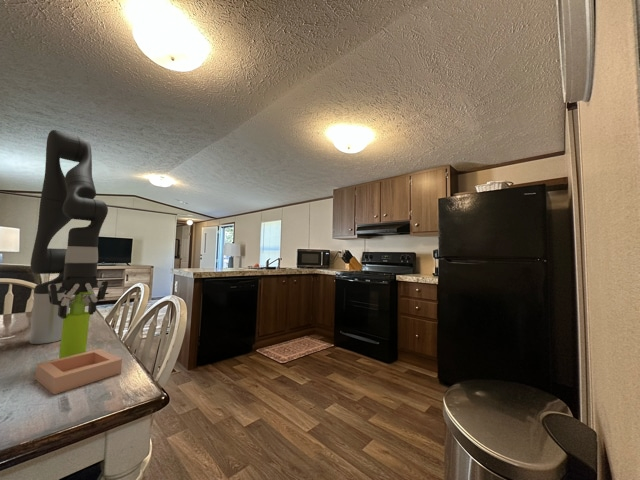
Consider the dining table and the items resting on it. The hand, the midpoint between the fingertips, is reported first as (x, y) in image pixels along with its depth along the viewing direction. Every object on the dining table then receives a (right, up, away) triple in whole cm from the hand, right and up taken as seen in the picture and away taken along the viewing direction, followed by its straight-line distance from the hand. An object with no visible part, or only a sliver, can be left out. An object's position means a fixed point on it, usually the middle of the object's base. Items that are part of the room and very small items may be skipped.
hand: (77, 316), depth 79 cm
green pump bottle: (0, -13, -1) cm, 13 cm away
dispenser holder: (+12, -12, -12) cm, 21 cm away
